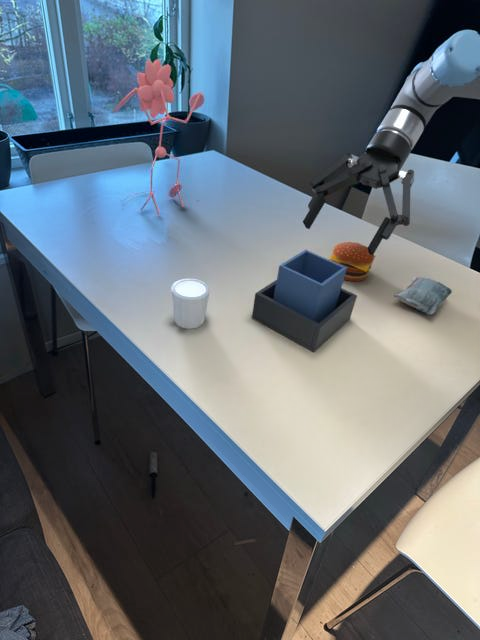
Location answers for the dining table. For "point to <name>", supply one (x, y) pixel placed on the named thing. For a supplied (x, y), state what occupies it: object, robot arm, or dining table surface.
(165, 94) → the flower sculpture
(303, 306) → the blue bin
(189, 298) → the white cup
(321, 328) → the charcoal bin
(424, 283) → the packaged food
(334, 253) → the hamburger
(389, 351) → the dining table surface
